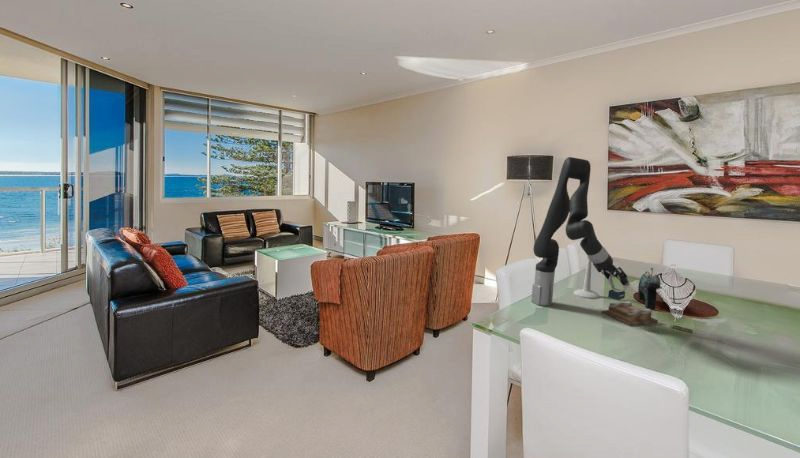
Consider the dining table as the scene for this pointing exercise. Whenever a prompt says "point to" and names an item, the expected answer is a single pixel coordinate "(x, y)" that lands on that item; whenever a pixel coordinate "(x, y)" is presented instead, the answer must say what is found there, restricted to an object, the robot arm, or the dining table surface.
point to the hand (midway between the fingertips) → (617, 281)
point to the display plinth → (629, 314)
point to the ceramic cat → (648, 289)
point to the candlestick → (587, 285)
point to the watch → (615, 292)
